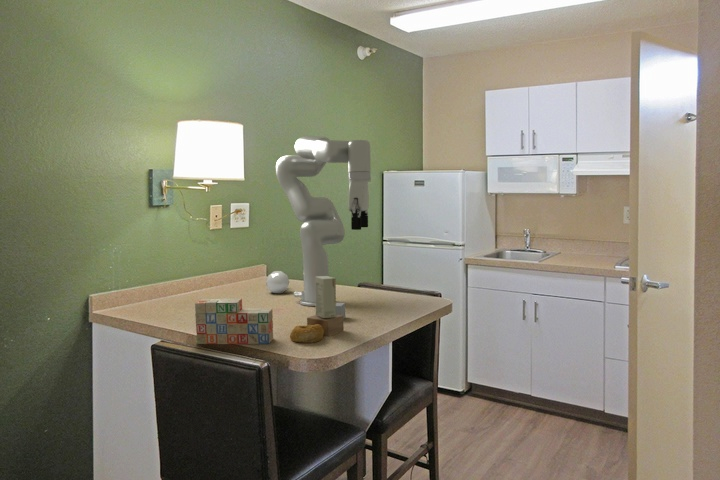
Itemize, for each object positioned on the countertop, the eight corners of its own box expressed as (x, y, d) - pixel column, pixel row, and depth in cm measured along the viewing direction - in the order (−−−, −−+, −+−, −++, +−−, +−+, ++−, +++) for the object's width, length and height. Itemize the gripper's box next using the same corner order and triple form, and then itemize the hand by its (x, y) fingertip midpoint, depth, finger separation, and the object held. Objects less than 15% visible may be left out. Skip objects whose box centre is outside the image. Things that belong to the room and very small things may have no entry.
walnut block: (307, 333, 181) (307, 317, 180) (322, 327, 187) (322, 312, 187) (328, 337, 176) (328, 321, 176) (343, 331, 183) (343, 315, 183)
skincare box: (336, 317, 180) (336, 278, 179) (323, 319, 178) (323, 279, 177) (327, 313, 185) (327, 275, 184) (314, 314, 183) (315, 276, 182)
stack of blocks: (273, 338, 175) (272, 298, 174) (269, 344, 169) (268, 302, 167) (203, 338, 176) (201, 298, 175) (196, 344, 170) (194, 302, 169)
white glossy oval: (274, 299, 239) (276, 296, 254) (293, 284, 240) (294, 282, 255) (260, 281, 239) (263, 279, 254) (279, 266, 240) (281, 265, 255)
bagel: (321, 333, 180) (321, 318, 180) (325, 343, 169) (325, 327, 169) (289, 335, 178) (288, 320, 178) (291, 345, 168) (290, 329, 167)
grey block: (326, 320, 197) (326, 305, 196) (331, 316, 202) (331, 302, 201) (341, 320, 196) (341, 306, 195) (345, 317, 201) (345, 303, 200)
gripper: (355, 177, 206) (355, 226, 207) (341, 177, 189) (342, 230, 191) (376, 177, 204) (376, 226, 206) (364, 177, 187) (364, 230, 189)
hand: (359, 228), depth 198 cm, fingers open, 9 cm apart
